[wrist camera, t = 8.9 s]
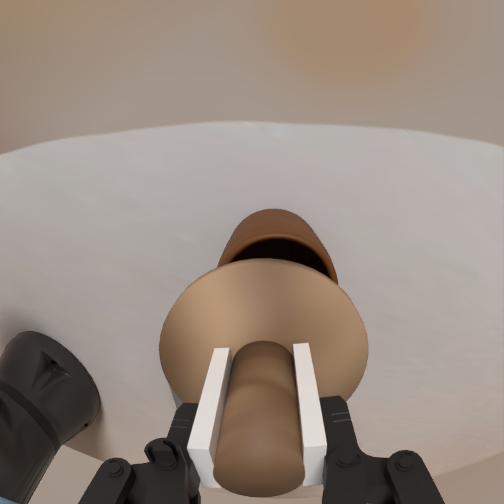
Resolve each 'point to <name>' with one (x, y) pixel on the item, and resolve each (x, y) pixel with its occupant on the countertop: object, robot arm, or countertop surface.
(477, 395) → the countertop surface
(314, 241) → the mug
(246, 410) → the lid
